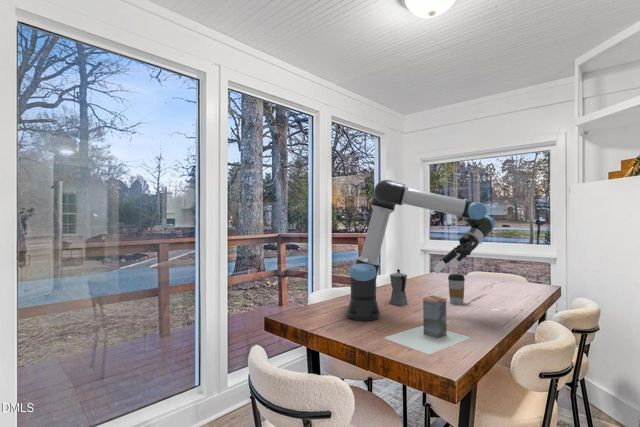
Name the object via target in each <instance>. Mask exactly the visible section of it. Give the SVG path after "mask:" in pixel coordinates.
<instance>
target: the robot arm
mask: <svg viewBox="0 0 640 427" xmlns="http://www.w3.org/2000/svg"><path fill="white" fill-rule="evenodd" d="M396 205H399V206H403V205H407V206H413V207H417V208H421V209H426V210H431V211H434V212H440V213H444V214H448V215H452V216H456V217H461V218H462V219H463V220H464V221H465V223H467V224H468V226H469V227H470V228H469V229H467V231H466V232H465V233H464V234H463V235H462V236H461V237H460V238H459V240H458V241H459V244H458V245H457V246H456V247H453V249H452V250H450V251H449V252H448V253H447V254H446V255H445V256H443V257H442V258H441V259H439V262H438V264H436V266H434V267H433V271H434V272H435V273H436V274H439V273H440V272H441V271H442V270H443V269H444V268H445V267H447V266H448V265H447V264H448V263H449V264H450V265H451V266H452V267H453V269H455V268H456V267H458V265H459V264H460V263H461V262H462V261H463V260H464V259H465V258H467V256H470V255H471V253H472V251H474V250H476V248H477V247H478V246H479V245H480V244H482V241H483V240H484V239H485V238H486V237H487V236H488V235H489V234H490V233H491V232H492V231H493V230H494V229H495V226H496V220H495V219H494V217H492V216H490V215H488V214H487V213H488V212H487V206H486V205H485V204H484V203H483V202H479V201H470V200H469V199H468V198H464V199H461V198H457V197H452V196H448V195H443V194H439V193H433V192H429V191H426V190H420V189H415V188H411V187H408V185H407V184H403V183H399V182H396V181H393V180H392V179H391V180H390V179H383V180H381V181H379V182H378V183H377V184H376V185H375V187H374V191H373V197H372V201H371V204H370V207H371V208H372V212H371V216H370V221H369V223H368V227H367V231H366V235H365V239H364V243H363V247H362V250H361V253H360V256H358V257H356V258H357V259H356V262H355V264H353V265H352V266H351V267H350V270H349V271H350V272H349V274H350V299H349V300H350V301H349V304H348V307H347V311H346V317H347V318H349V319H350V320H354V321H358V322H359V321H360V322H363V321H364V322H371V321H375V320H379V319H380V318H381V311H380V308H379V305H378V302H377V301H378V300H377V277H378V273H379V269H380V264H381V263H380V262H379V257H380V253H381V250H382V245H383V242H384V239H385V234H386V231H387V227H388V223H389V219H390V216H391V214H392V213H393V212H395V208H396Z"/></svg>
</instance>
